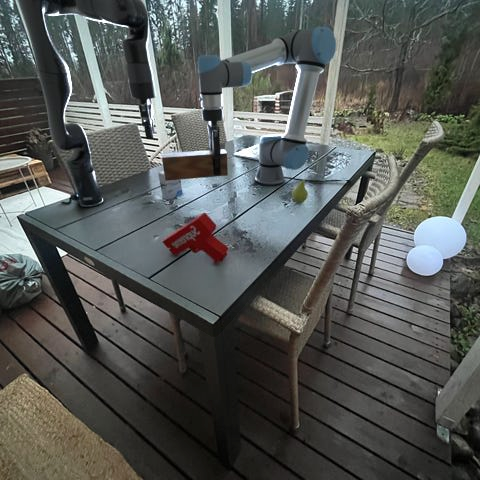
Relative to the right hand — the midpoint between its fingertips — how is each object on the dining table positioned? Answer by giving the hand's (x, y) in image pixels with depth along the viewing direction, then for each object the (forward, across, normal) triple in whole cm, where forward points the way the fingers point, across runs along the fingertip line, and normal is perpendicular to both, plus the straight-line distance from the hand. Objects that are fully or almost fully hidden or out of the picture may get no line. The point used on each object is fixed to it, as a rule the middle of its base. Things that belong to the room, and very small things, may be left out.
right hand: (216, 171), depth 108 cm
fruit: (+16, +2, +36) cm, 40 cm away
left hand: (-16, +4, -22) cm, 27 cm away
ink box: (+16, -18, -19) cm, 31 cm away
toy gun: (+16, +33, -12) cm, 38 cm away
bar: (+1, 0, -8) cm, 8 cm away
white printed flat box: (+17, -74, +45) cm, 88 cm away
